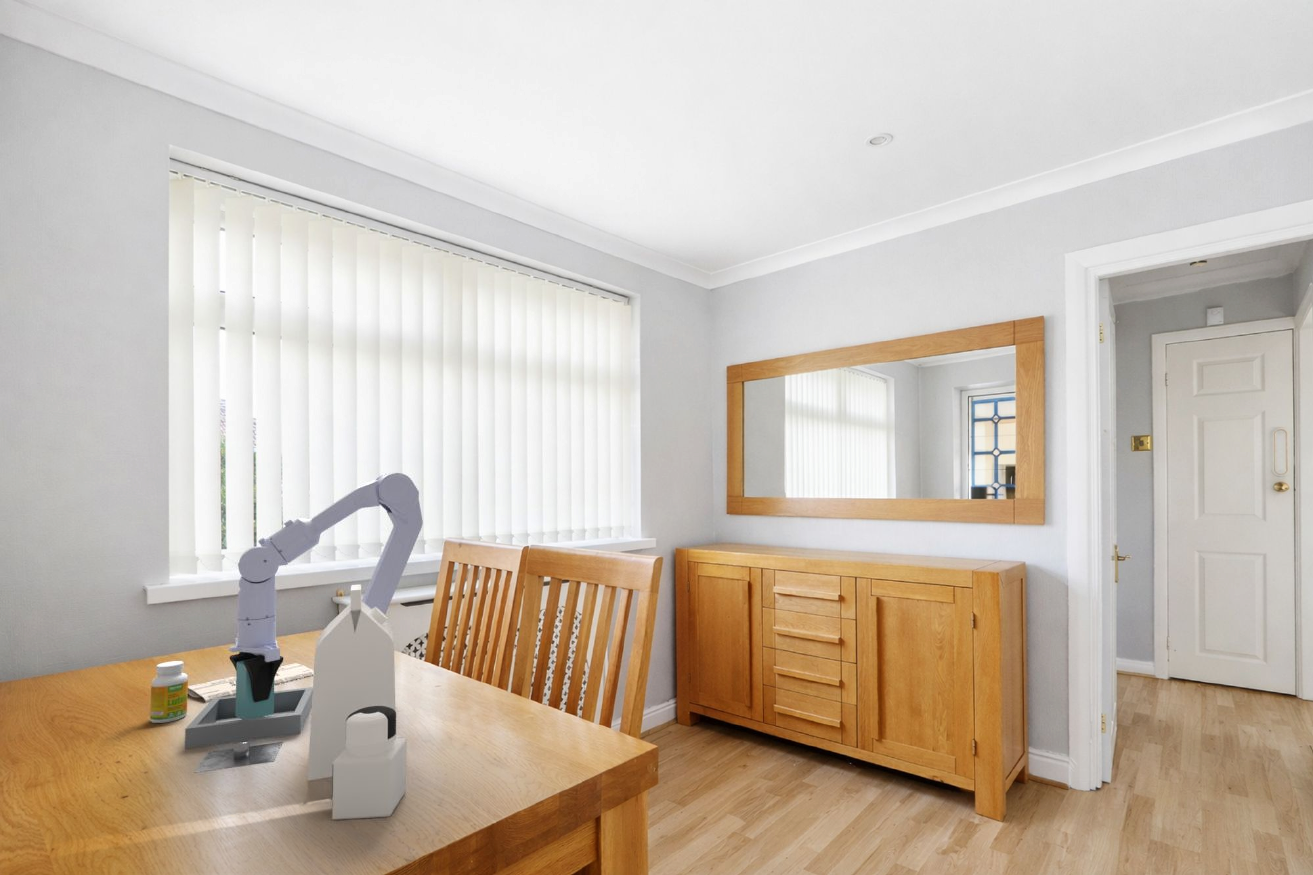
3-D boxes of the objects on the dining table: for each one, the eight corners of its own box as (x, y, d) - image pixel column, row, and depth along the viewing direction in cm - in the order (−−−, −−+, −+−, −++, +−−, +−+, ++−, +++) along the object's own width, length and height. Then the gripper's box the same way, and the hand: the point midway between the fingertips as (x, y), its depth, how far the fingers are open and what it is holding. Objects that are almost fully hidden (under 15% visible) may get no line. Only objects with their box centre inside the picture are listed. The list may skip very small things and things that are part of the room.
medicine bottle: (352, 794, 89) (353, 702, 90) (406, 791, 90) (407, 700, 91) (330, 821, 82) (332, 721, 83) (390, 817, 83) (391, 718, 84)
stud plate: (283, 748, 106) (283, 728, 106) (273, 768, 98) (274, 747, 98) (209, 758, 102) (209, 738, 102) (193, 779, 95) (194, 758, 95)
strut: (263, 708, 117) (264, 656, 118) (273, 713, 114) (274, 660, 115) (235, 715, 114) (236, 661, 114) (245, 721, 111) (246, 666, 111)
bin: (313, 708, 124) (313, 686, 124) (300, 739, 109) (300, 714, 109) (212, 721, 118) (213, 698, 119) (184, 755, 103) (185, 728, 104)
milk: (313, 756, 102) (316, 584, 104) (394, 743, 107) (395, 579, 109) (307, 788, 91) (309, 596, 93) (397, 772, 96) (398, 589, 98)
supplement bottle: (167, 724, 117) (169, 668, 118) (142, 723, 118) (143, 667, 119) (194, 714, 122) (195, 660, 123) (169, 712, 123) (171, 659, 124)
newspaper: (288, 669, 154) (289, 658, 154) (316, 683, 147) (317, 672, 147) (174, 695, 135) (175, 682, 135) (199, 712, 128) (200, 699, 128)
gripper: (215, 616, 117) (213, 695, 116) (247, 626, 107) (245, 712, 106) (260, 609, 122) (258, 685, 121) (293, 618, 113) (292, 700, 112)
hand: (255, 697), depth 114 cm, fingers closed on strut, 4 cm apart
